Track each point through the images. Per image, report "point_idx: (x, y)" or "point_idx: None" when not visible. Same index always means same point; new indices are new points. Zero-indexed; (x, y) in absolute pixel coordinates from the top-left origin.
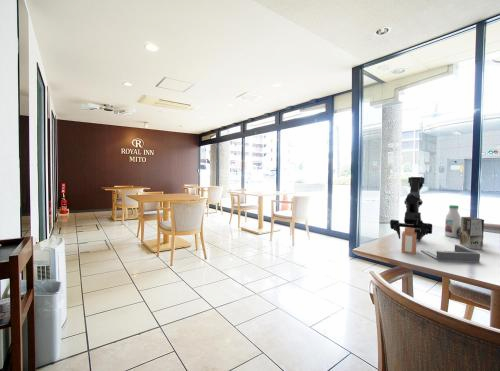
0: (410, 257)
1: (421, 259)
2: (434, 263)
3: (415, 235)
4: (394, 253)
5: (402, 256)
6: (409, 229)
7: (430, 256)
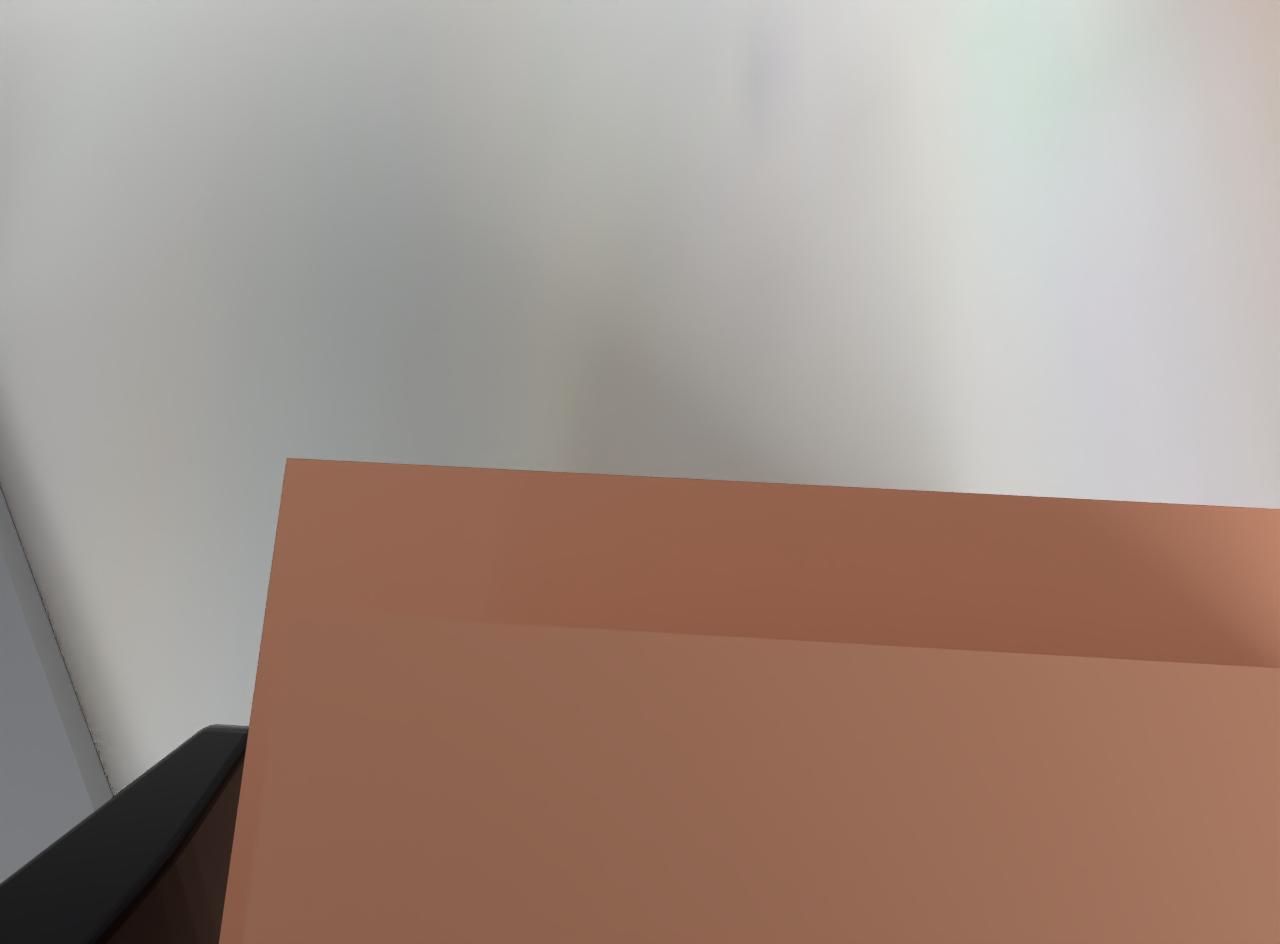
0: (672, 213)
1: (380, 193)
2: (89, 22)
3: (349, 464)
4: (1161, 374)
5: (893, 181)
6: (1012, 654)
7: (74, 693)
